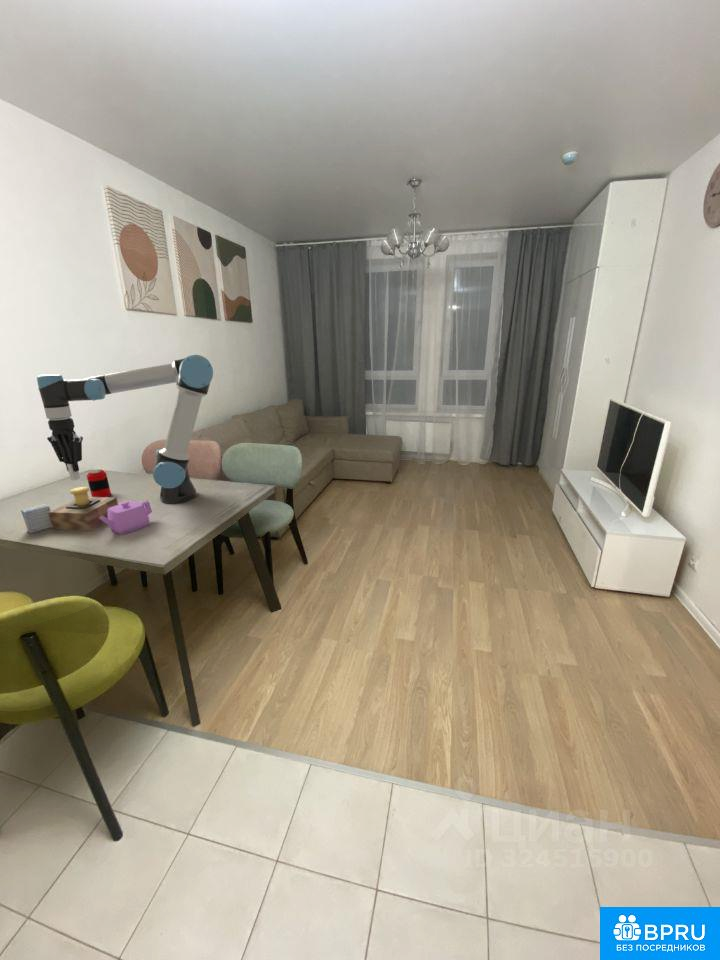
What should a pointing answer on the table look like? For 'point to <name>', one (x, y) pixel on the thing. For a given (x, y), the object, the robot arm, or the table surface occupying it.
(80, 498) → the peg
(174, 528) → the table surface
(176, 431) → the robot arm
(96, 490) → the soda can
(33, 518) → the medicine box
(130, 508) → the teapot
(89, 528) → the socket
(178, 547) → the table surface
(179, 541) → the table surface
